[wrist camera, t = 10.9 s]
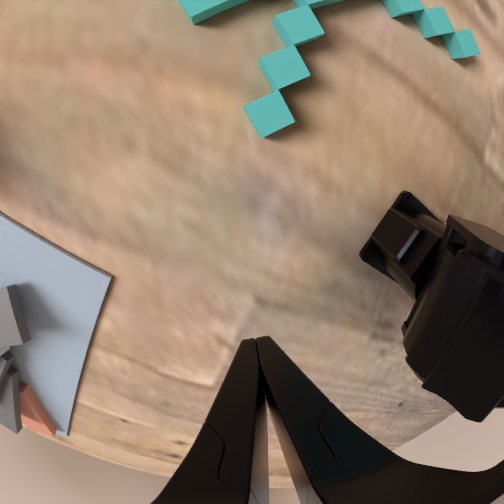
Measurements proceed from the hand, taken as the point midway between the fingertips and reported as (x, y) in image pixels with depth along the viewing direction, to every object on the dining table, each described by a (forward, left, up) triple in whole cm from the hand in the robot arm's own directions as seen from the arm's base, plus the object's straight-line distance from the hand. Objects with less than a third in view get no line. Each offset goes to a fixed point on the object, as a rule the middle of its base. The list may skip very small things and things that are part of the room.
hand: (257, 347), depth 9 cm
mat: (+14, +25, -13) cm, 31 cm away
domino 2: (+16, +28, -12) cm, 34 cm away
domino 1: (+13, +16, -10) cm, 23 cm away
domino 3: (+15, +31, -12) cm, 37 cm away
